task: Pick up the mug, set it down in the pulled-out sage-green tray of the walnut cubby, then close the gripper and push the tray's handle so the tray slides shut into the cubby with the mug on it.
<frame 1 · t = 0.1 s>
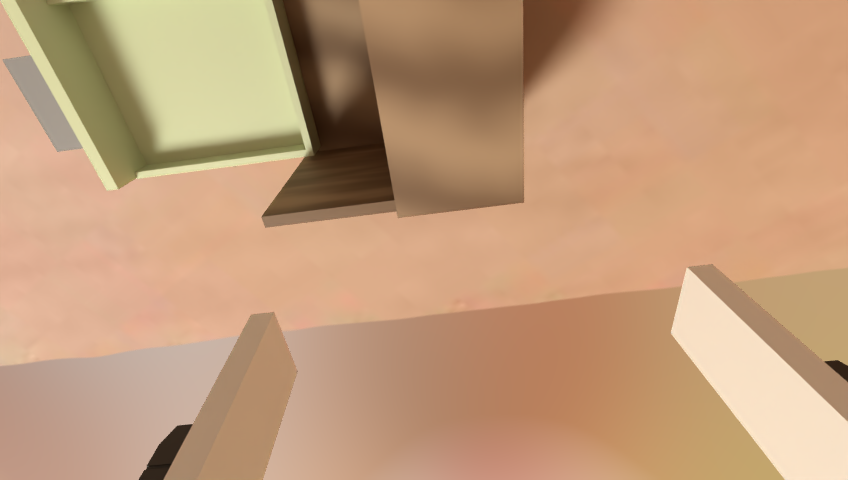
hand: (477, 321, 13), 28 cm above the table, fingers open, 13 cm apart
cubby: (380, 52, 35), on the table
tray: (168, 86, 33), point 3 cm above the table, slide at 14.5 cm
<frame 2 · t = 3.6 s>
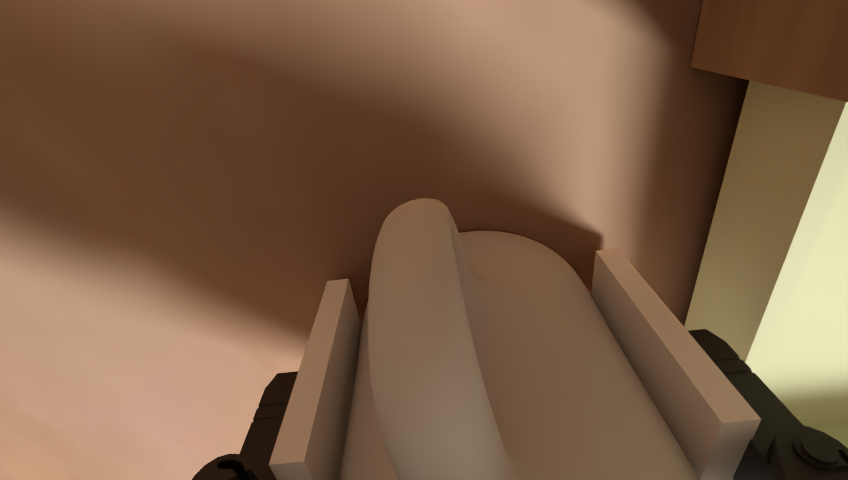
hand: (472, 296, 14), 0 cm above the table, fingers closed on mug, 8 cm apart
mug: (461, 286, 15), on the table, touching gripper
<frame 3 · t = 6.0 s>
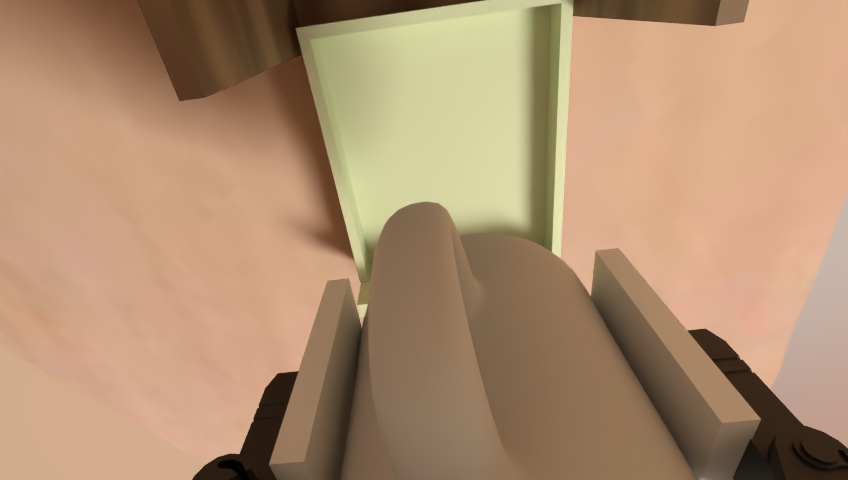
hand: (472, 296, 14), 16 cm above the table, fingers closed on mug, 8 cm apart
mug: (461, 288, 15), point 15 cm above the table, touching gripper
tray: (451, 190, 26), point 3 cm above the table, slide at 14.5 cm
when the fingers open (4 cm above the table, at t = 8.6 s): mug drops 2 cm, resting on tray.
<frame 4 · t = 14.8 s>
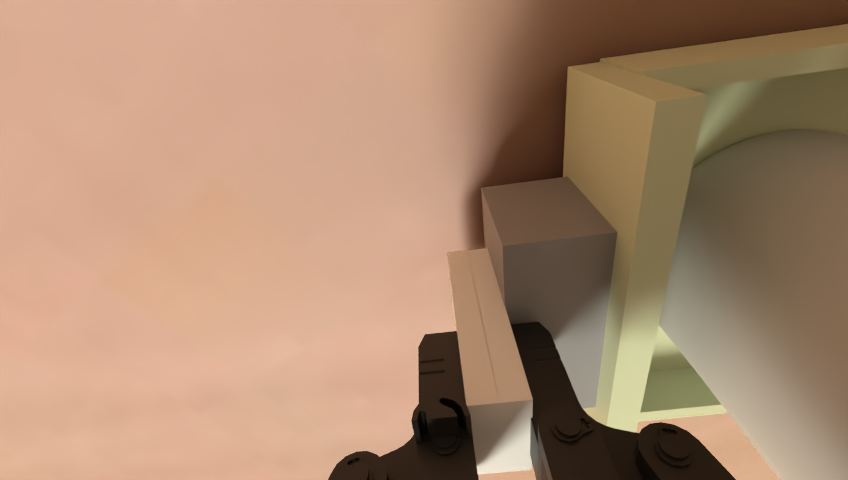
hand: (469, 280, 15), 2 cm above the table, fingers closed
mug: (791, 224, 15), point 1 cm above the table, touching tray
tray: (798, 271, 14), point 3 cm above the table, slide at 13.9 cm, touching gripper, mug
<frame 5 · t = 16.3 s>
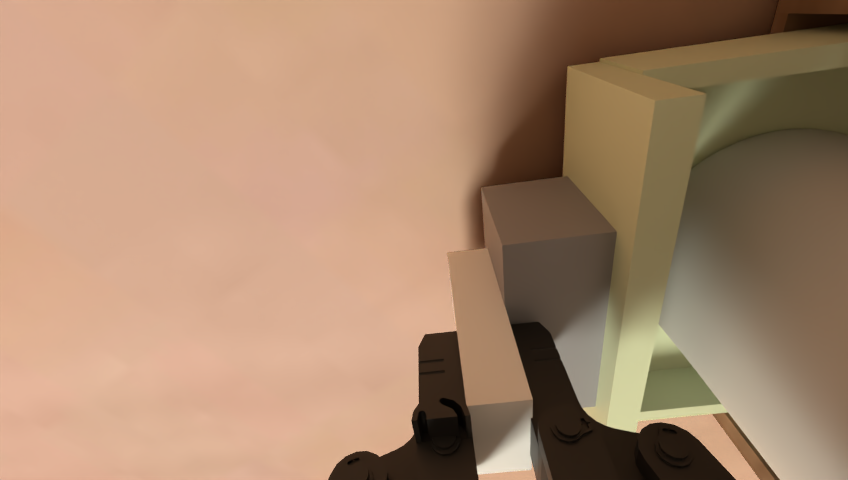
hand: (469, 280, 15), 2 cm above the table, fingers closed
mug: (791, 223, 15), point 1 cm above the table, touching tray
tray: (798, 270, 14), point 3 cm above the table, slide at 5.2 cm, touching gripper, mug
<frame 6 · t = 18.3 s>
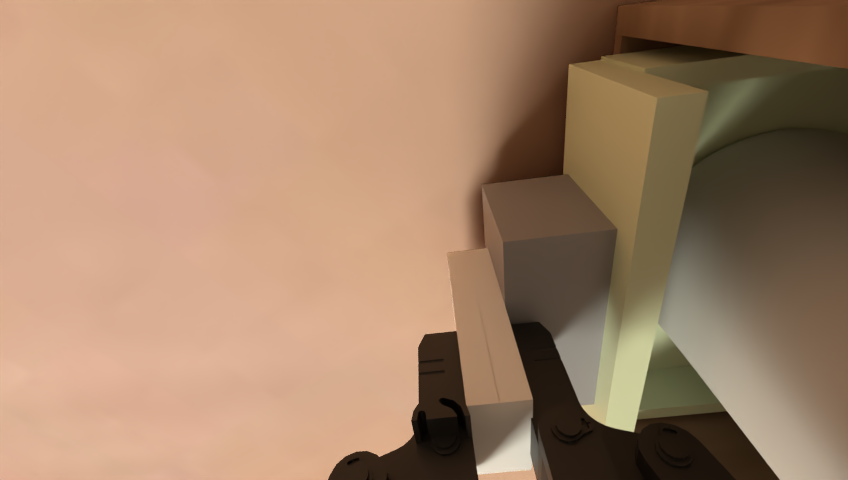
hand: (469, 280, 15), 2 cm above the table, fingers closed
cubby: (801, 216, 16), on the table
mug: (789, 223, 15), point 1 cm above the table, touching tray
tray: (796, 269, 14), point 3 cm above the table, slide at 0.3 cm, touching gripper, mug
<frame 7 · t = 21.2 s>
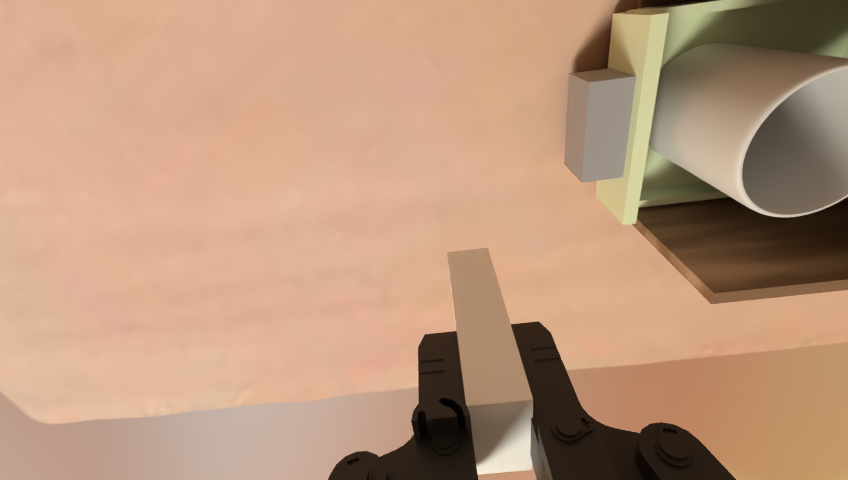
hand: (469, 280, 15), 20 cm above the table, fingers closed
cubby: (731, 96, 32), on the table
mug: (718, 95, 31), point 1 cm above the table, touching tray
tray: (717, 110, 29), point 3 cm above the table, slide at 0.6 cm, touching mug
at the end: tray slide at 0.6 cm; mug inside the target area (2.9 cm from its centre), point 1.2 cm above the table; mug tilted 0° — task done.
